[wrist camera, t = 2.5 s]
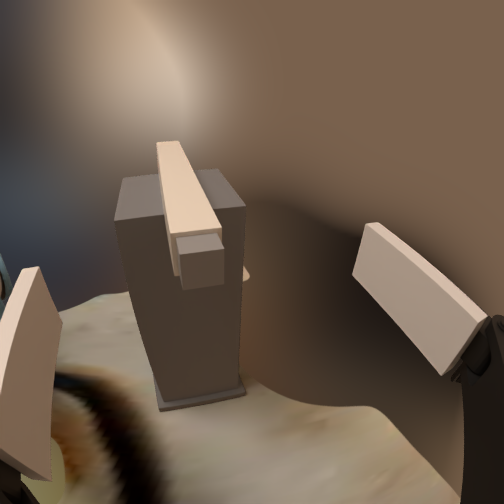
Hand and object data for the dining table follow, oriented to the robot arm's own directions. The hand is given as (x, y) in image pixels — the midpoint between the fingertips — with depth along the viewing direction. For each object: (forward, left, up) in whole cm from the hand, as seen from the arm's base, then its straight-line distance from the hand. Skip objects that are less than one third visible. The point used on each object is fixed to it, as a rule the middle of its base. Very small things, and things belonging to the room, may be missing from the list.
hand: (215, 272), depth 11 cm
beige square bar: (0, +19, -5) cm, 20 cm away
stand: (0, +21, -37) cm, 42 cm away
